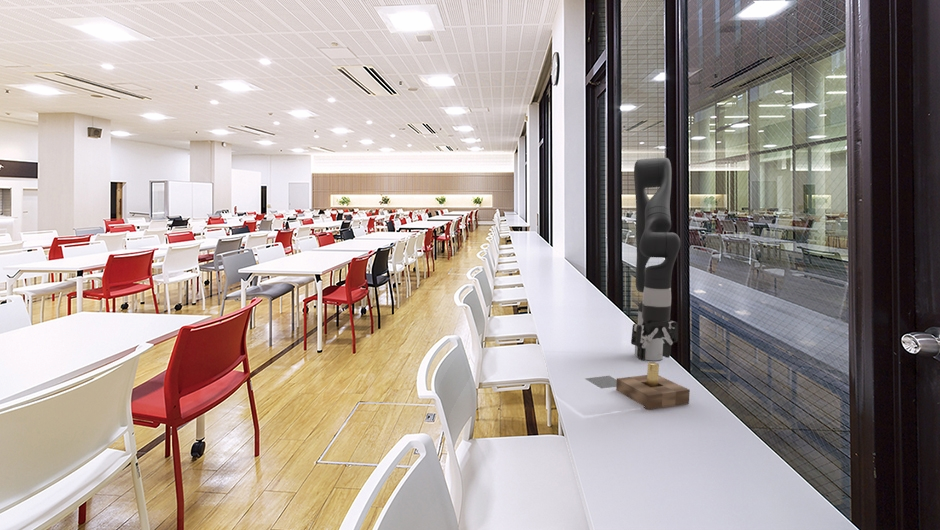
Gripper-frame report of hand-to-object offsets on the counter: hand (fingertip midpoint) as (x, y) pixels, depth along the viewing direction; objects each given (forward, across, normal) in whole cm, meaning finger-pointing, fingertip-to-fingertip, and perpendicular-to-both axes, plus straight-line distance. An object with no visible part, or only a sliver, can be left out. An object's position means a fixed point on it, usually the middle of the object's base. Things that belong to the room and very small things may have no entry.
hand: (653, 358), depth 140 cm
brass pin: (+12, 0, 0) cm, 12 cm away
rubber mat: (+12, +6, -14) cm, 19 cm away
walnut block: (+12, 0, 0) cm, 12 cm away
